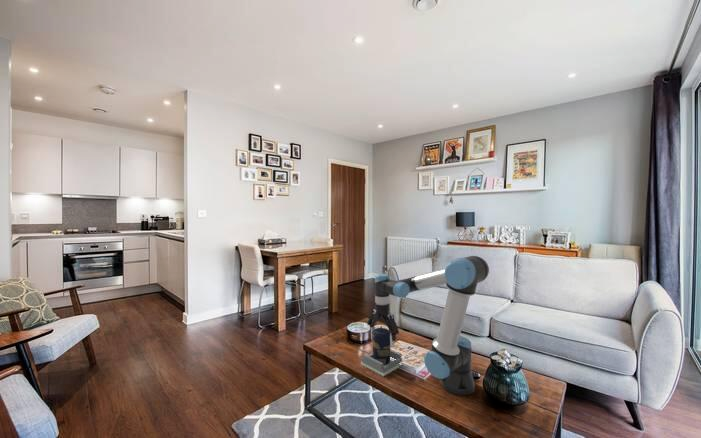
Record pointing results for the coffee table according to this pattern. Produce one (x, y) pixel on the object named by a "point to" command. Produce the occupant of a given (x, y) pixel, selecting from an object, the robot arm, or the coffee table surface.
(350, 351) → the coffee table surface
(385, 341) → the canister
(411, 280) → the robot arm
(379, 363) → the grey square tray
